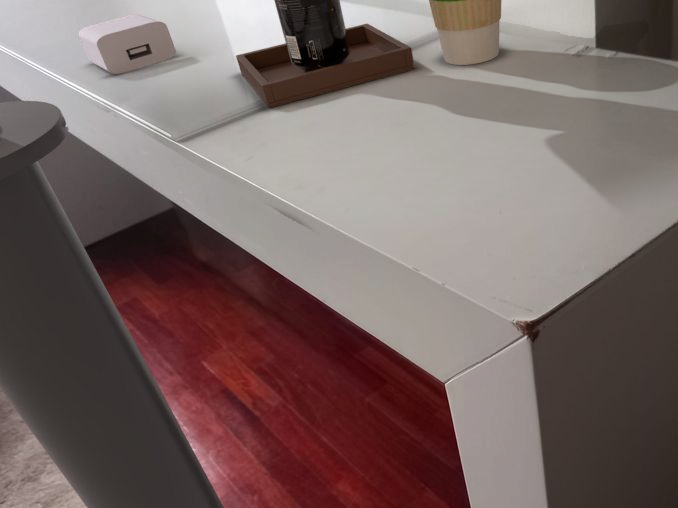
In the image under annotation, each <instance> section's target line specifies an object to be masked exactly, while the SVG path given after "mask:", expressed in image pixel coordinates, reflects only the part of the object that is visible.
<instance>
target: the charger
mask: <svg viewBox="0 0 678 508" xmlns="http://www.w3.org/2000/svg"><path fill="white" fill-rule="evenodd" d="M78 39H79V40H80V43H81V45H82V47H83V50H84V52H85V54H86V56H87V59H88V60H89V61H90V62H91V63H93V64H95V65H96V66H98V67H99V68H101V69H103V70H105V71H107V72H109V73H111V74H115V75H117V74H118V75H119V74H124V73H127V72H131V71H134V70H138V69H142V68H144V67H148V66H151V65H154V64H158V63H160V62H161V63H162V62H165V61H167V60H170V59H171V58H174V56H175V55H176V53H177V50H176V46H175V45H174V42H173V38H172V36H171V33H170V30H169V27H168V26H167V24H166V23H165V22H162V21H161V20H157V19H154V18H151V17H149V16H146V15H142V14H140V13H139V14H138V13H135V14H133V13H132V14H129V15H125V16H122V17H117V18H113V19H110V20H106V21H102V22H98V23H94V24H91V25H87V26H84V27H83V28H81V29H80V30H79V31H78Z"/></svg>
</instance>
